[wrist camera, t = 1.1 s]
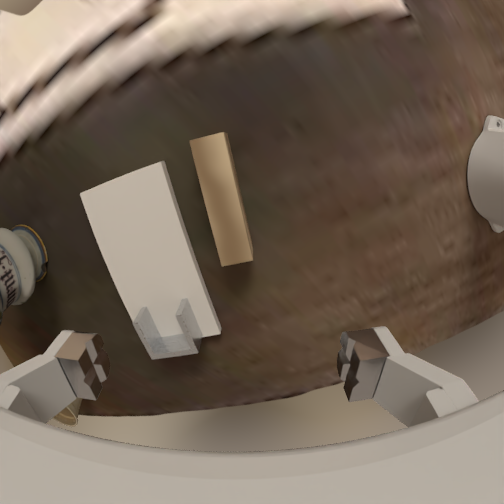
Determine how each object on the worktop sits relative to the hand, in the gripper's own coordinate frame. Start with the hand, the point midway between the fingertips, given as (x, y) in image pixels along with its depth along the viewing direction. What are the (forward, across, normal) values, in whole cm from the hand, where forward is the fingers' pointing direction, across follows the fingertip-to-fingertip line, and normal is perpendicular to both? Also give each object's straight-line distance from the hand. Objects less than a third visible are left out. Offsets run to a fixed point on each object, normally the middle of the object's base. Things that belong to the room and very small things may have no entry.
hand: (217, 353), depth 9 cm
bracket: (+28, +11, +8) cm, 31 cm away
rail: (+28, +1, -1) cm, 28 cm away
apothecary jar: (+29, +34, +6) cm, 45 cm away
